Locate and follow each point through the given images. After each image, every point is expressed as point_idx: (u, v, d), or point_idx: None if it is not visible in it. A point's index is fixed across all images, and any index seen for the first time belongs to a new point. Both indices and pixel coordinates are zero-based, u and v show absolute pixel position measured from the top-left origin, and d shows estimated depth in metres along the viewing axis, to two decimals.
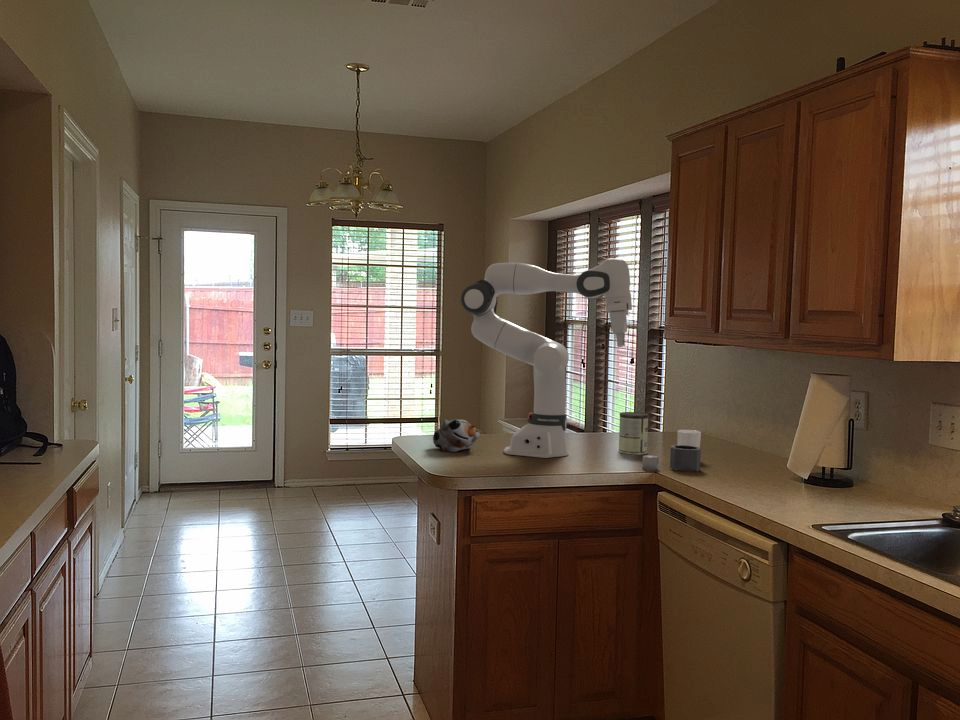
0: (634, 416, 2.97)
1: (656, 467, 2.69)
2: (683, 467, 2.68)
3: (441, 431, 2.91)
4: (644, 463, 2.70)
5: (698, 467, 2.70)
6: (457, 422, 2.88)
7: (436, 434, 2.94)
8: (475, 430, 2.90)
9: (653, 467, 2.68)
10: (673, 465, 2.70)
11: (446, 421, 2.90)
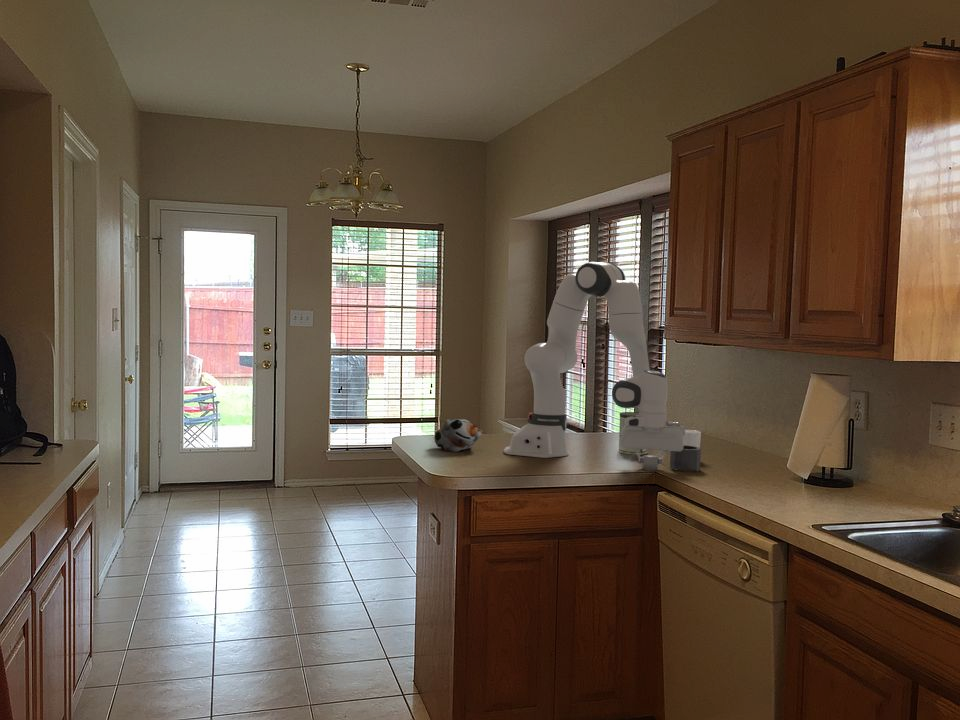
0: None
1: (656, 467, 2.69)
2: (683, 467, 2.68)
3: (443, 431, 2.92)
4: (644, 463, 2.70)
5: (698, 467, 2.70)
6: (459, 422, 2.89)
7: (438, 434, 2.95)
8: (477, 430, 2.91)
9: (653, 467, 2.68)
10: (673, 465, 2.70)
11: (448, 421, 2.90)
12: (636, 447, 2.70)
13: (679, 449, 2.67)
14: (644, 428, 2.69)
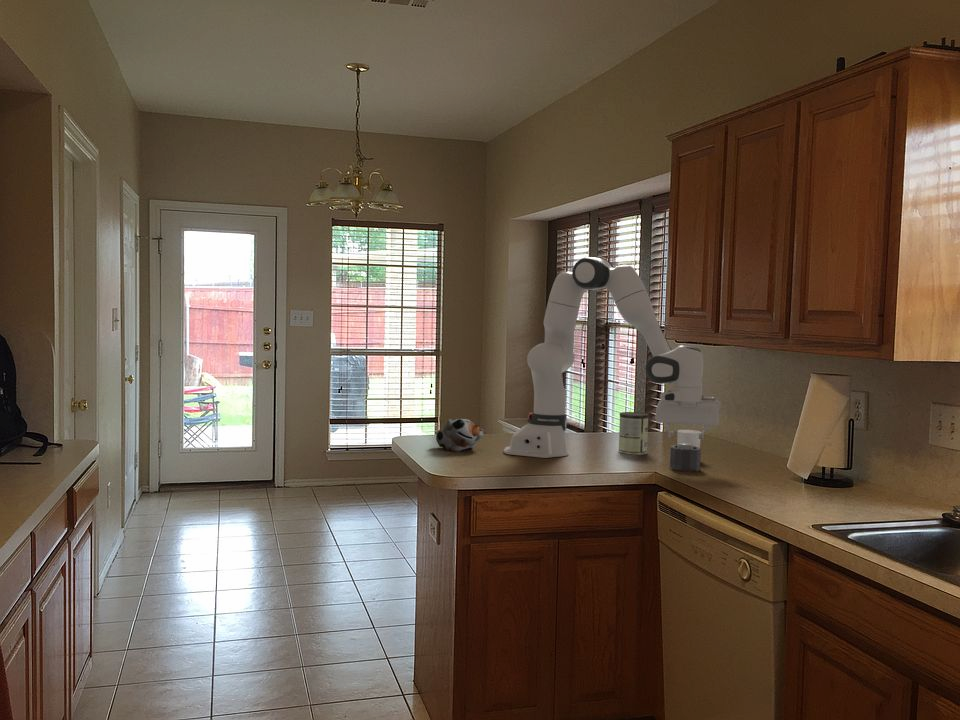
0: (634, 416, 2.97)
1: None
2: (683, 467, 2.68)
3: (445, 431, 2.93)
4: None
5: (698, 467, 2.70)
6: (461, 421, 2.90)
7: (439, 434, 2.95)
8: (479, 429, 2.92)
9: None
10: (673, 465, 2.70)
11: (450, 421, 2.91)
12: (672, 422, 2.71)
13: (715, 423, 2.68)
14: (680, 403, 2.70)
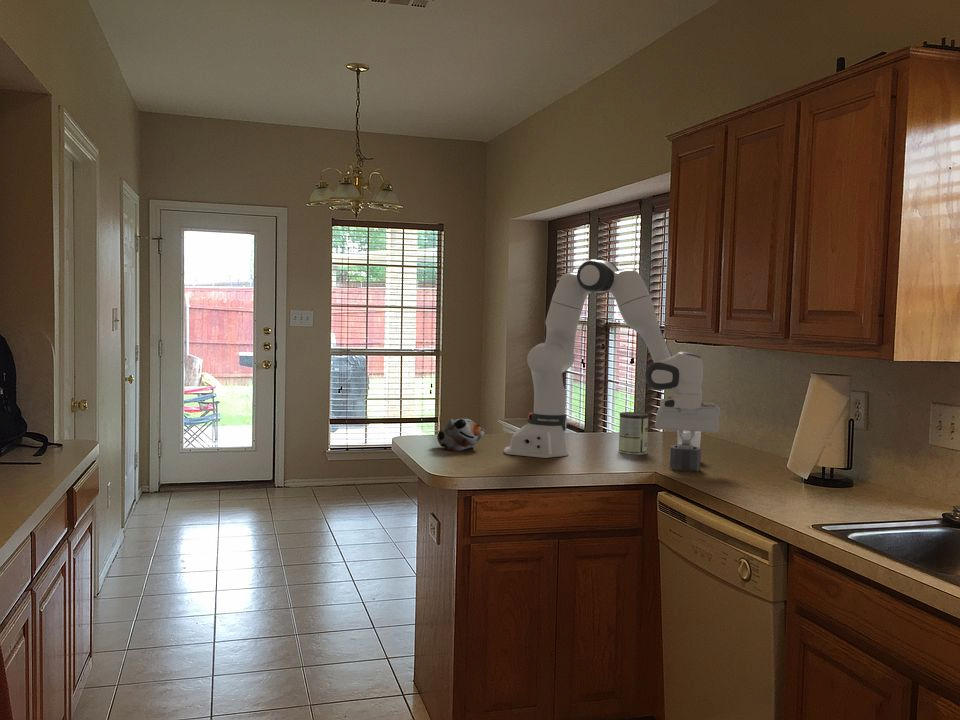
0: (634, 416, 2.97)
1: None
2: (683, 467, 2.68)
3: (446, 430, 2.94)
4: None
5: (698, 467, 2.70)
6: (463, 421, 2.91)
7: (441, 433, 2.96)
8: (480, 429, 2.93)
9: None
10: (673, 465, 2.70)
11: (452, 420, 2.92)
12: (672, 428, 2.71)
13: (715, 430, 2.69)
14: (680, 409, 2.70)
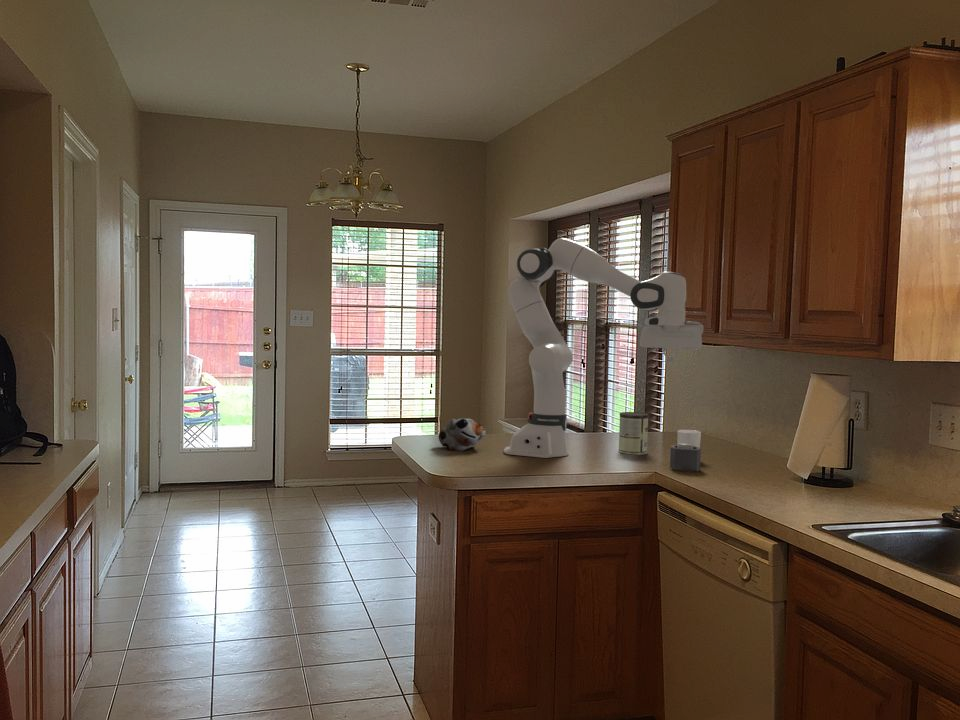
0: (634, 416, 2.97)
1: None
2: (683, 467, 2.68)
3: (448, 430, 2.94)
4: None
5: (698, 467, 2.70)
6: (465, 421, 2.92)
7: (442, 433, 2.97)
8: (482, 429, 2.94)
9: None
10: (673, 465, 2.70)
11: (453, 420, 2.93)
12: (656, 346, 2.79)
13: (698, 347, 2.76)
14: (664, 327, 2.78)
